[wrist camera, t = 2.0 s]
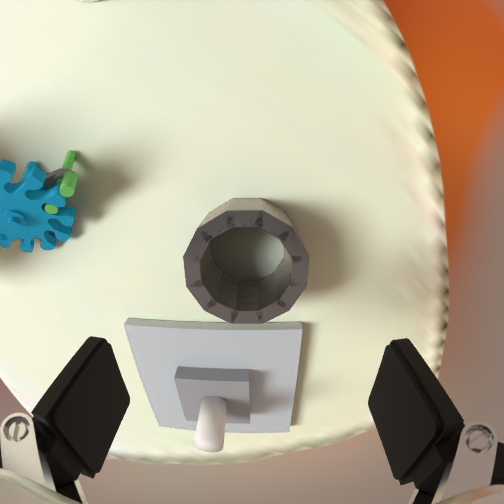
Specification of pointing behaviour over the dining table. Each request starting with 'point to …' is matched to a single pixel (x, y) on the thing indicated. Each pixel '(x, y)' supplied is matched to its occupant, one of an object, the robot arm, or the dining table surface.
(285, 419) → the shaft stand
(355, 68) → the dining table surface
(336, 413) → the dining table surface
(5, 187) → the gear
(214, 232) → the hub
